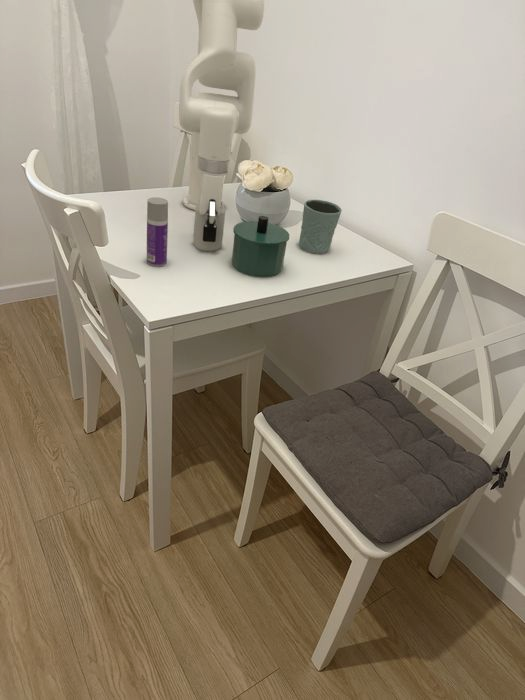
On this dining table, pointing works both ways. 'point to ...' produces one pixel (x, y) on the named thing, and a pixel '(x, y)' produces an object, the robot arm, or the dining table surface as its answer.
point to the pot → (257, 258)
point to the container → (157, 231)
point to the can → (199, 226)
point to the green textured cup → (318, 226)
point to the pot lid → (261, 232)
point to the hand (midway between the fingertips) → (208, 234)
